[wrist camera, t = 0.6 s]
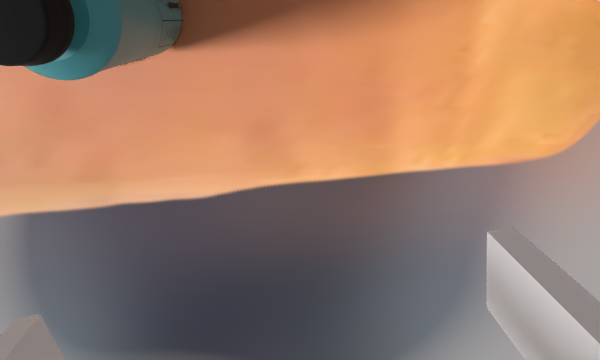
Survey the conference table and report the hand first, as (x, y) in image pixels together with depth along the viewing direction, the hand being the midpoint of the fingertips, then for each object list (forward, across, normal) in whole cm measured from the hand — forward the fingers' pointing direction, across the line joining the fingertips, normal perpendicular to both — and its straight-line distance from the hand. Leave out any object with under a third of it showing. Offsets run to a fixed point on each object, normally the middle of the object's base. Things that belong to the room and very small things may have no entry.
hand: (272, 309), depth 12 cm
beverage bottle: (+27, -8, +10) cm, 30 cm away
